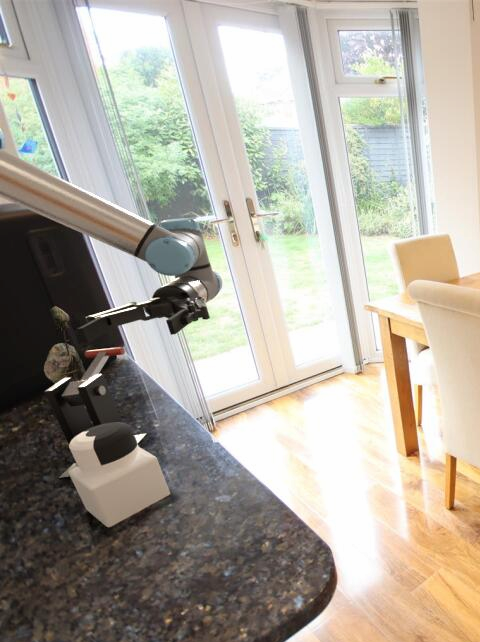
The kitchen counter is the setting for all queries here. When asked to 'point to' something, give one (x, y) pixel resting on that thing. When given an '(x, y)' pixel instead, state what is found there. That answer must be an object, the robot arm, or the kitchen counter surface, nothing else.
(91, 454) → the medicine bottle
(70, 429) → the bracket
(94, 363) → the lever
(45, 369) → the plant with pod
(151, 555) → the kitchen counter surface
